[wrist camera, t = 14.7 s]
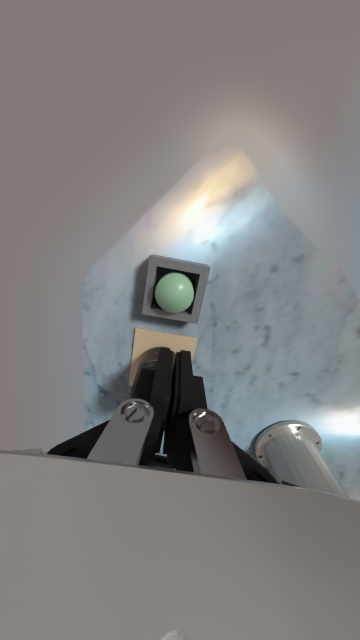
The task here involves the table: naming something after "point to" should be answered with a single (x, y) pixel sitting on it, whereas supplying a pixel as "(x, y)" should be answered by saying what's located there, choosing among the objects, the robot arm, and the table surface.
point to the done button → (174, 292)
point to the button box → (176, 264)
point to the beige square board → (157, 345)
